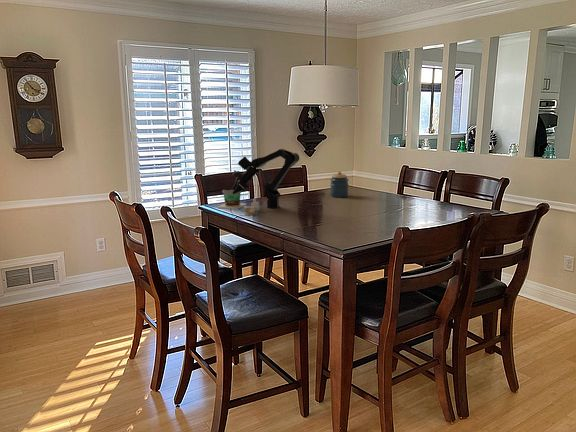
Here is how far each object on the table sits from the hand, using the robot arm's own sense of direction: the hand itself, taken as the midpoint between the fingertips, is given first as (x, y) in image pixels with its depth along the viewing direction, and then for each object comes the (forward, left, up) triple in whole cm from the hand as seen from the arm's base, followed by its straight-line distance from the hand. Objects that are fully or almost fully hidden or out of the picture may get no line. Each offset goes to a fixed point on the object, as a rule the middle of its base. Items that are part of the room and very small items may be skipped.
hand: (232, 192), depth 296 cm
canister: (-57, -56, -9) cm, 81 cm away
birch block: (-20, +20, -9) cm, 30 cm away
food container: (0, +1, -8) cm, 8 cm away
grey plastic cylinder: (-19, +9, -9) cm, 23 cm away
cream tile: (0, 0, -9) cm, 9 cm away
